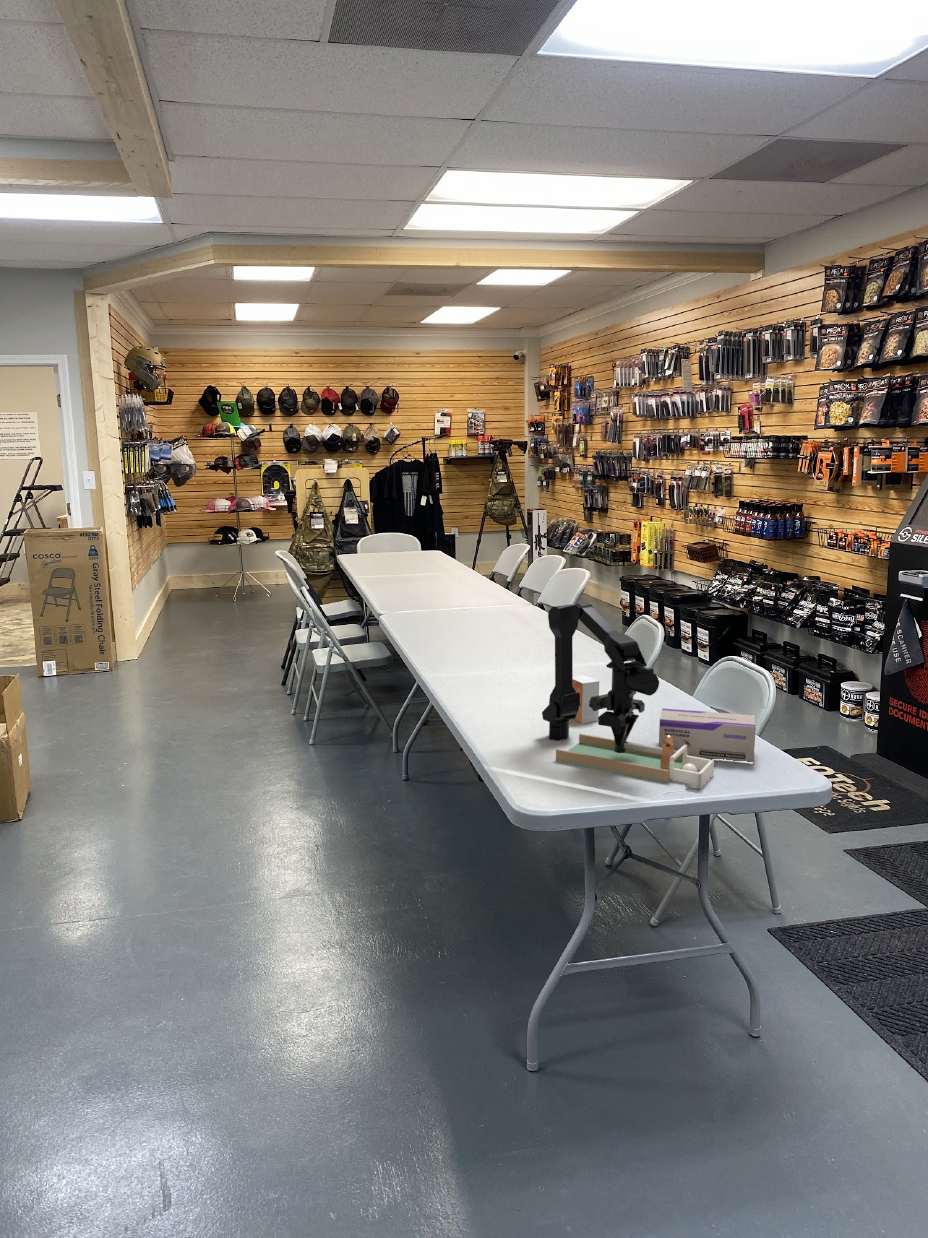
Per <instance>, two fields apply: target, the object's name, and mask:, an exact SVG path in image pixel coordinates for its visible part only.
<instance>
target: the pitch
mask: <svg viewBox="0 0 928 1238" xmlns="http://www.w3.org/2000/svg"><path fill="white" fill-rule="evenodd" d="M676 752H677V751H676V750H673V755H674V754H675V753H676ZM687 755H688V753H687ZM688 756H689V755H688ZM661 760H662V755H660V754H654V753H649V752H643V751H638V750H632V749H627V748H626V752H625V753H616V752H614V739H613V738H612V739H611V738H607V737H600V736H596V735H595V736H594V735H590V734H584V733H579V735H578V743H577V744H576V745H574V746H572V747H571V748H570V749H568V750H562V749H558V748H557V749H556V750H555V761H556V762H560V763H565V764H570V765H574V766H581V767H585V768H590V769H595V770H600V771H606V772H611V773H616V774H621V775H626V776H631V777H636V778H641V779H647V780H651V781H652V780H653V781H656V782H661V783H667V784H669V783H670V782H671V781H672V780H671V778H669V775H670V770H665V769H660V763H661ZM682 764H683V752H682V753H681V754H680V755H679V756H678V757H677V758H676V759H675V760H674V768H677V769H682V767H683V765H682Z"/></svg>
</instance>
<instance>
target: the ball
mask: <svg viewBox="0 0 928 1238" xmlns="http://www.w3.org/2000/svg"><path fill="white" fill-rule="evenodd" d="M682 770H688V771H693V772H698V770H697V768H696V767H695V765H693V764H691V763H687V764H685V765H683V767H682Z"/></svg>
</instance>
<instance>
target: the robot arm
mask: <svg viewBox="0 0 928 1238" xmlns="http://www.w3.org/2000/svg"><path fill="white" fill-rule="evenodd" d="M547 618H548V619H547V620H548V627H549V629H550V631H551V632H552V635H553V636H554V687H553V689H552V691H551V693H550V694H549V702H548V705H547V706H546V707H545V708H544V710H543V711H542V712H541V716H542V720H544V721H546V722H548V723H549V724H548V725H549V727H548V729H549V731H548V735H549V737H548V738H549V740H551V741H563V740H568V739H569V737H570V720H574V719H575V718H576V715H577V712H578V710H579V706H581V705H580V693H579V692H576V691H575V689H574V687H573V677H574V676H573V672H574V671H573V663H574V662H573V654H574V653H573V637H574V636H575V635H574V634H575V633H576V631H577V629H578V627H579V621H580V622H581V623H582V624H583V625H584V626H585V627H586V628H587V629H588V630H589V631H590V632H591V633H592V634H593V635H594V636H595V637H596V638H597V639H598V640H599V641H600V642H601V643H602V645H603V648H604V653H605V654H606V655H607V657H608V658H609V659H610V662H608V663H607V664H606V668H609V669H611V689H610V690H609V691H608V692H607V693H604V694H599V696H598V695H597V696H595V697H594V696H593V697H591V698H590V701H589V707H591V708H592V709H593V711H597V710H599V711H600V710H603V709H606V711H604V712H602V713H601V714H600V715H599V717H598V721H597V725H599V726H604V727H610V728H611V731H612V735H613V737H614V738H615V742H616V745H617V746H621V744H622V741H623V739H624V736H625V733H626V731H627V739H628V737H629V736H630V734H631V732H632V731H633V730H632V729H633V727H634V726H635V723H636V721H638V718H639V717H640V715H638V714H635V712H634V711H635V710H637V711H638V713H639V714H640V713H643V712H645V707H646V703H644V701H643V700H642V699H641V700H640V699H636V698H634V696H635V695H636V694H637V693H640V694H643V695H646V696H653V695H654V694H655V693H656V692H658V689H659V686H660V680H659V677H658V675H657V674H656V673H654V672H655V671H654V668H652V667H647V662H646V659H645V658H644V655H643V653H642V651H641V649H640V645H639V643H638V642H637V641H636V639H634V638H633V637H632V636H629V635H628V634H625V633H623V632H620V631H619V630H617V629H615V628H614V627H613V626H612V625H611V624H610V622H608V621H607V620H606V619H605V618H604V617H603V616H602V615H601V614H600V613H599V612H598V611H597V610H596V609H595V608H594V606H593V604H591V602H590V603H589V602H581V603H576V604H574V605H573V604H572V603H571V604H564V605H556V606H552V607H551V608H550V609H549V610H548V612H547Z"/></svg>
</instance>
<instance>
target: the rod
mask: <svg viewBox="0 0 928 1238" xmlns="http://www.w3.org/2000/svg"><path fill="white" fill-rule="evenodd" d="M613 740H614V752H616V753H625V752H626V748H627V749H632V750H638V751H643V752H649V753H654V754H660V755H662V760H661V763H660V769H665V770H669V769H670V757H671V756H672V755H673V750H674V744H672V743H673V737H672V736H670V735H666V736H665V737H664V738H663V742H664V743H665V744H664V745H663V746H662V748H660V747H659V746H653V745H647V744H642V743H636V742H633V741H627V740H628V738H627V731H626V733H625V736H624V739H623V741H622V744H621V746H617V745H616V742H615V738H614V739H613Z"/></svg>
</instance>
